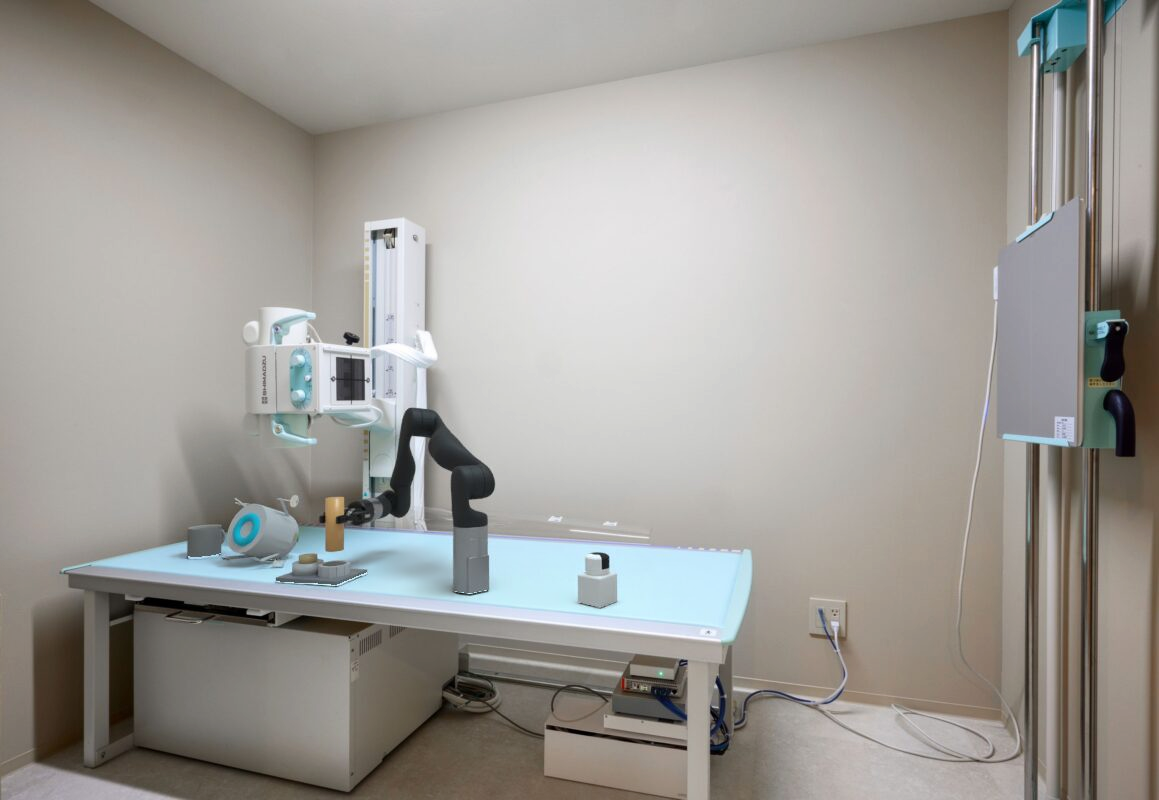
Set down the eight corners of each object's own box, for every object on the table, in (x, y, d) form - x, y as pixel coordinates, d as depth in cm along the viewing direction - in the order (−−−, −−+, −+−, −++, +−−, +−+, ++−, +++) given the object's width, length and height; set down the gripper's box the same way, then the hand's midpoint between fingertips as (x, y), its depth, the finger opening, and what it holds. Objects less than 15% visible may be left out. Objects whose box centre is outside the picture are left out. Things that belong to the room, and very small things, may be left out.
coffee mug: (200, 560, 198) (201, 530, 198) (180, 558, 202) (180, 528, 202) (236, 552, 211) (237, 523, 211) (216, 550, 214) (217, 522, 215)
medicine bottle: (595, 596, 153) (594, 549, 153) (617, 601, 148) (617, 553, 149) (577, 603, 147) (577, 554, 148) (600, 608, 143) (599, 558, 143)
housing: (367, 574, 177) (367, 552, 178) (336, 587, 164) (336, 563, 164) (310, 570, 182) (310, 549, 183) (275, 582, 169) (276, 559, 169)
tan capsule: (346, 550, 172) (346, 497, 173) (328, 552, 169) (328, 499, 169) (340, 547, 176) (340, 496, 176) (323, 549, 173) (323, 497, 173)
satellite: (324, 505, 206) (269, 508, 214) (280, 488, 189) (222, 492, 198) (308, 573, 196) (251, 573, 205) (259, 561, 179) (200, 562, 188)
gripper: (345, 498, 189) (307, 506, 172) (385, 499, 185) (350, 507, 168) (345, 522, 188) (307, 532, 172) (385, 524, 185) (350, 534, 168)
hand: (328, 520), depth 170 cm, fingers closed on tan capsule, 5 cm apart
